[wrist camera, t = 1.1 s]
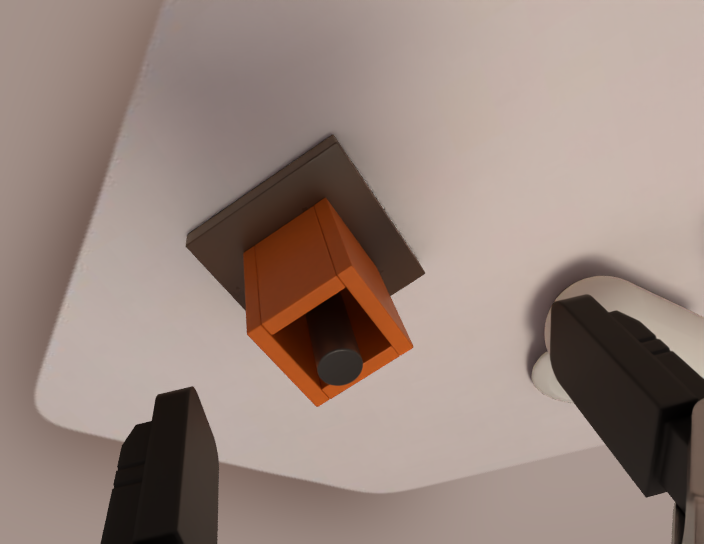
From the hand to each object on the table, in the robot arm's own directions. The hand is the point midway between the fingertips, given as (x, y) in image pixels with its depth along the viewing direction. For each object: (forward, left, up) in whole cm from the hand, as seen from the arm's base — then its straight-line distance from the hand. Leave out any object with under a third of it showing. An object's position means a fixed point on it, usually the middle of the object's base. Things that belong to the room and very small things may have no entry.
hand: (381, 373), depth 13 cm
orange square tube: (+7, -3, -20) cm, 21 cm away
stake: (+7, -3, -21) cm, 22 cm away
